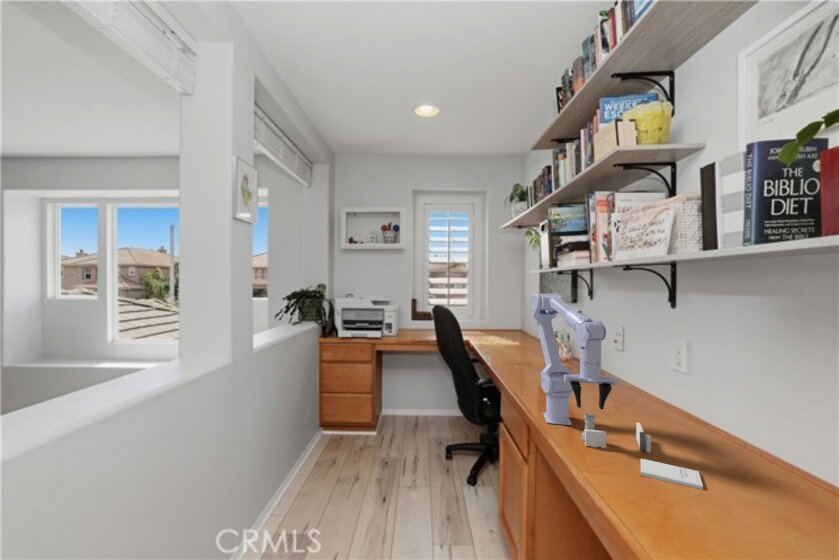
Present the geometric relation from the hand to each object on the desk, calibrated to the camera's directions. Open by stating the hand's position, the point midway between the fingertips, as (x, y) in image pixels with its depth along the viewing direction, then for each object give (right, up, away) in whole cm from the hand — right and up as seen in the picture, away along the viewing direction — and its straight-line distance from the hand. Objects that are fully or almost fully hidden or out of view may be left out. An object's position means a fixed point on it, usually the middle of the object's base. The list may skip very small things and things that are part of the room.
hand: (589, 407), depth 114 cm
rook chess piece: (0, -10, 0) cm, 10 cm away
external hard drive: (+11, -11, -20) cm, 25 cm away
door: (+14, -10, -3) cm, 17 cm away
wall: (+5, -10, -5) cm, 12 cm away
